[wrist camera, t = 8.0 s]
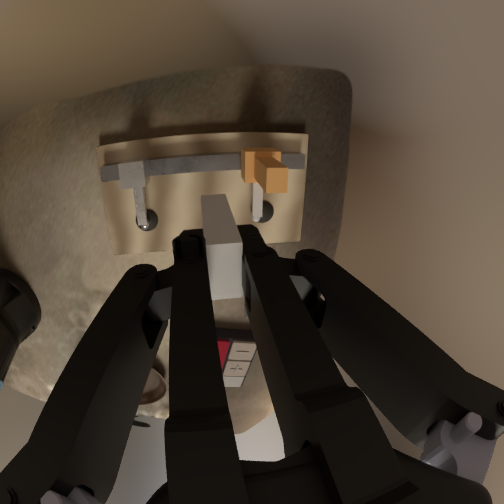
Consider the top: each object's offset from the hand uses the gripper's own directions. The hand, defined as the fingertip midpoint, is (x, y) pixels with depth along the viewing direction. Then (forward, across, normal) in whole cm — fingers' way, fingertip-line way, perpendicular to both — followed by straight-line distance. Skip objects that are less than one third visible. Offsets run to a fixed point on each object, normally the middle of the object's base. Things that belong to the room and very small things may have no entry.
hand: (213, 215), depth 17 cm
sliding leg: (+18, +6, -3) cm, 20 cm away
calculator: (+21, +1, -38) cm, 44 cm away
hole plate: (+21, 0, -4) cm, 21 cm away
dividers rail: (+19, 0, -3) cm, 19 cm away
